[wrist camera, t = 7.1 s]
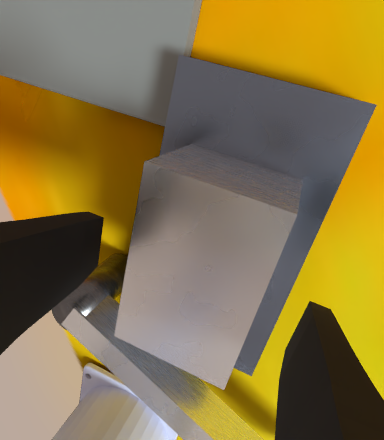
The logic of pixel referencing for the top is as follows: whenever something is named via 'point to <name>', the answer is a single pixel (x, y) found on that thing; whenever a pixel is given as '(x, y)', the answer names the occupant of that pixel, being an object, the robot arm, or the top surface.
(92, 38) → the rubber mat
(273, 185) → the grey rectangular block
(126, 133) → the top surface
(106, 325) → the steel lever
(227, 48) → the top surface
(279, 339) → the top surface
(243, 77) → the grey piece
